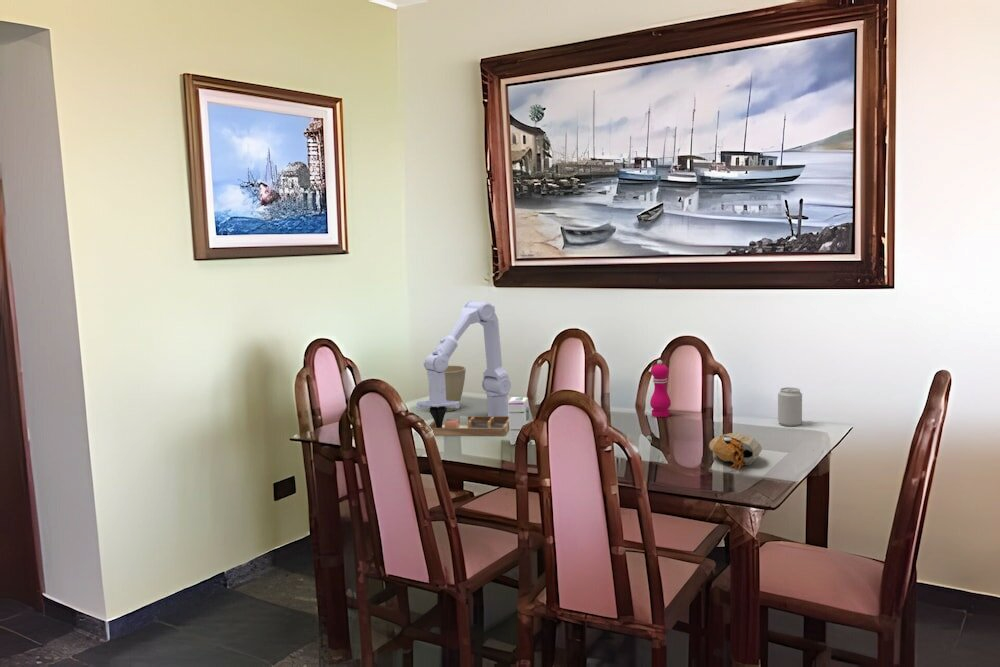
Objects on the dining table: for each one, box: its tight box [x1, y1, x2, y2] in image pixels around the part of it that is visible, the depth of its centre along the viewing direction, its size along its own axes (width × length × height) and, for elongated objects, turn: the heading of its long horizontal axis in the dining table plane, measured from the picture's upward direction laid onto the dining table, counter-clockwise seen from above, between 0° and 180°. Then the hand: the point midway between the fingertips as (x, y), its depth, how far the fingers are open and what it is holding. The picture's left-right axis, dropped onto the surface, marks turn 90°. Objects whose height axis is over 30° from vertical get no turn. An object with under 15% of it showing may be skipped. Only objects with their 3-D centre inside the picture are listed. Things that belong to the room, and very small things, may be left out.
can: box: [777, 386, 803, 427], centre depth 267 cm, size 8×8×12 cm
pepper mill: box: [649, 359, 672, 418], centre depth 285 cm, size 7×7×20 cm
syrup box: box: [508, 396, 530, 446], centre depth 259 cm, size 6×6×14 cm
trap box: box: [428, 415, 509, 437], centre depth 277 cm, size 17×27×3 cm, turn 80°
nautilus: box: [708, 432, 763, 473], centre depth 228 cm, size 8×22×15 cm
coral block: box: [444, 418, 460, 428], centre depth 274 cm, size 4×4×4 cm
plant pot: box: [445, 365, 466, 412], centre depth 309 cm, size 15×15×16 cm
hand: (439, 428), depth 275 cm, fingers closed
